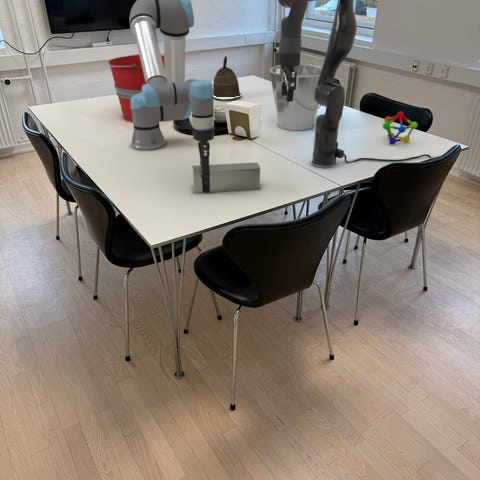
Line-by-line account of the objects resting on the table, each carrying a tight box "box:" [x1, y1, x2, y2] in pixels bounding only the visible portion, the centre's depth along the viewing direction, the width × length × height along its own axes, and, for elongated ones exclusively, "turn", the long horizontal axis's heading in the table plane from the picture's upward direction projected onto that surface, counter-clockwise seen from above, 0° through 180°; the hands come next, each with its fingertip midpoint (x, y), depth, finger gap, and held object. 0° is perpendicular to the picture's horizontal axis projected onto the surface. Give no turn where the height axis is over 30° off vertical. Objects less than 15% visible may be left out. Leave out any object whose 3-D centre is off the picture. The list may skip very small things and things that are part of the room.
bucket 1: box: [105, 53, 165, 123], centre depth 239 cm, size 35×35×30 cm
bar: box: [192, 162, 261, 194], centre depth 165 cm, size 24×6×9 cm, turn 98°
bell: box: [212, 56, 242, 97], centre depth 278 cm, size 19×26×20 cm
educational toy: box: [382, 110, 418, 145], centre depth 207 cm, size 16×13×15 cm
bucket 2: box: [269, 63, 323, 131], centre depth 226 cm, size 30×30×28 cm
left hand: (205, 187), depth 166 cm, fingers closed on bar, 6 cm apart
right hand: (286, 98), depth 161 cm, fingers open, 8 cm apart
